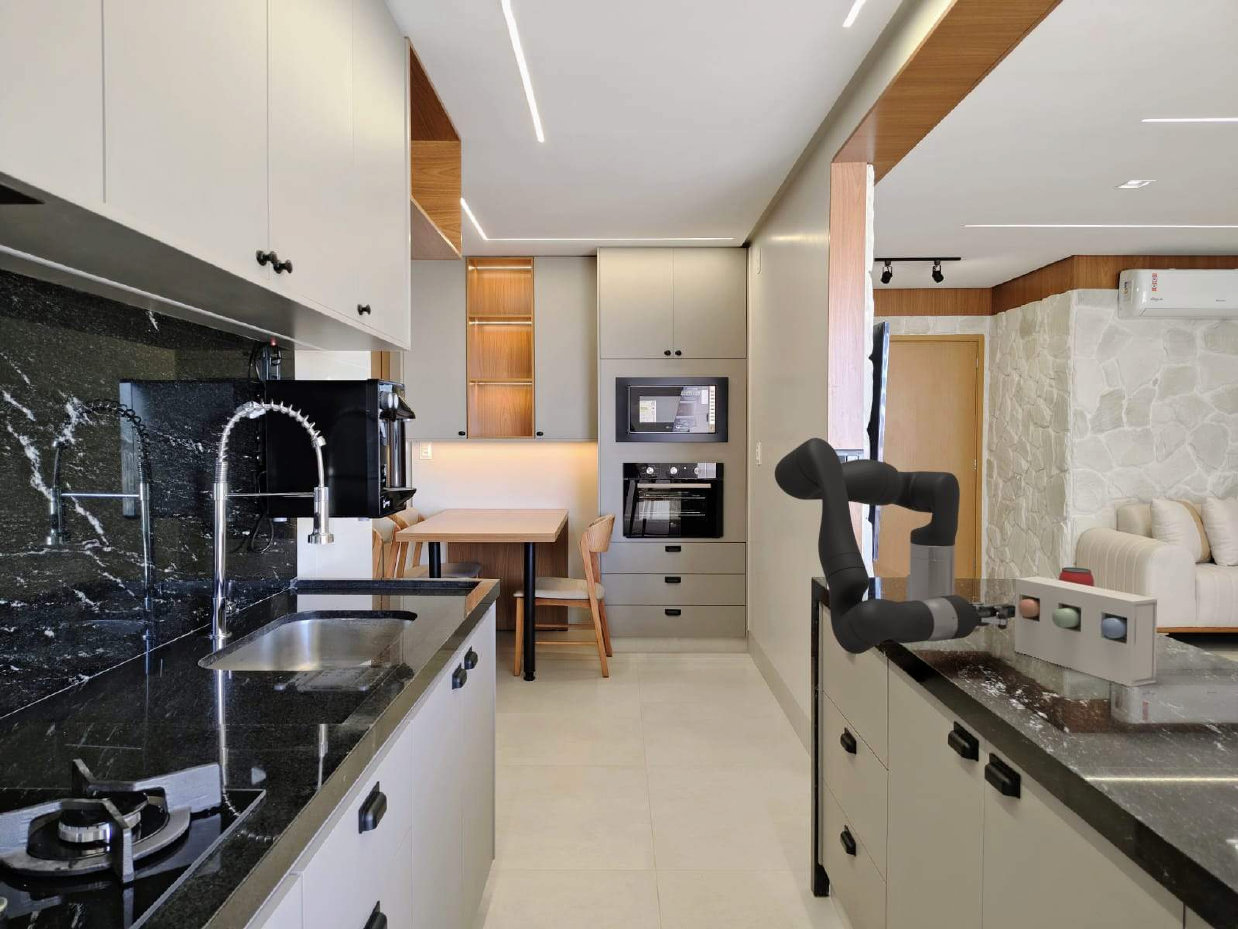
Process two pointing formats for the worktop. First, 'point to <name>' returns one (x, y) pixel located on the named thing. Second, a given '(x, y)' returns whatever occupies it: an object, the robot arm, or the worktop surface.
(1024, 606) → the terracotta button
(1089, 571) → the beer can
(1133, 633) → the console
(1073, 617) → the sage button
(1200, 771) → the worktop surface
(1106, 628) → the blue button
